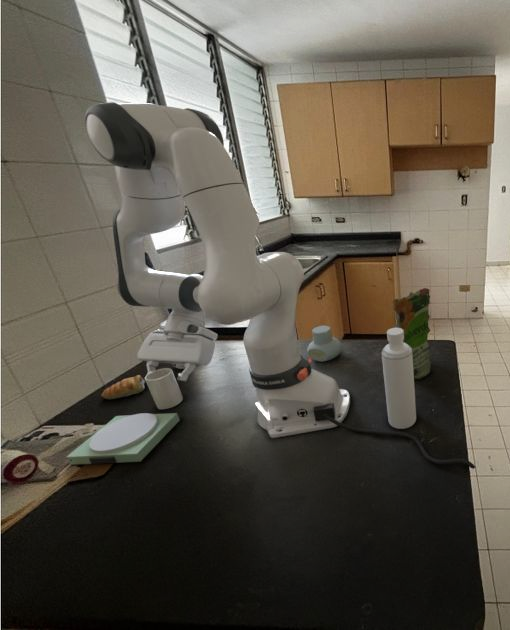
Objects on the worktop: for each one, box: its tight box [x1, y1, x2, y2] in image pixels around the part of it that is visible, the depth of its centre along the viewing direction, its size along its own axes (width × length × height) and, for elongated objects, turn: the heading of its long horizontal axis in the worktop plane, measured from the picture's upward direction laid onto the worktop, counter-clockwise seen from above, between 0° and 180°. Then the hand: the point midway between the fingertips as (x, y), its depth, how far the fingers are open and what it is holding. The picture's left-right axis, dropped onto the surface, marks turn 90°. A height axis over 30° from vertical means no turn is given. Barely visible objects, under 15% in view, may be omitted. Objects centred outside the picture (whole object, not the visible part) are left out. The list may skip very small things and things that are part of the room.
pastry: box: [100, 374, 146, 400], centre depth 94 cm, size 9×7×4 cm
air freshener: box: [306, 325, 343, 362], centre depth 107 cm, size 11×8×10 cm
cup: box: [144, 367, 184, 410], centre depth 88 cm, size 6×6×9 cm
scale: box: [65, 412, 181, 466], centre depth 76 cm, size 15×13×3 cm
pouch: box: [391, 287, 432, 380], centre depth 94 cm, size 11×12×25 cm
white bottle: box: [380, 327, 417, 430], centre depth 75 cm, size 7×7×25 cm
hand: (165, 379), depth 89 cm, fingers open, 8 cm apart
